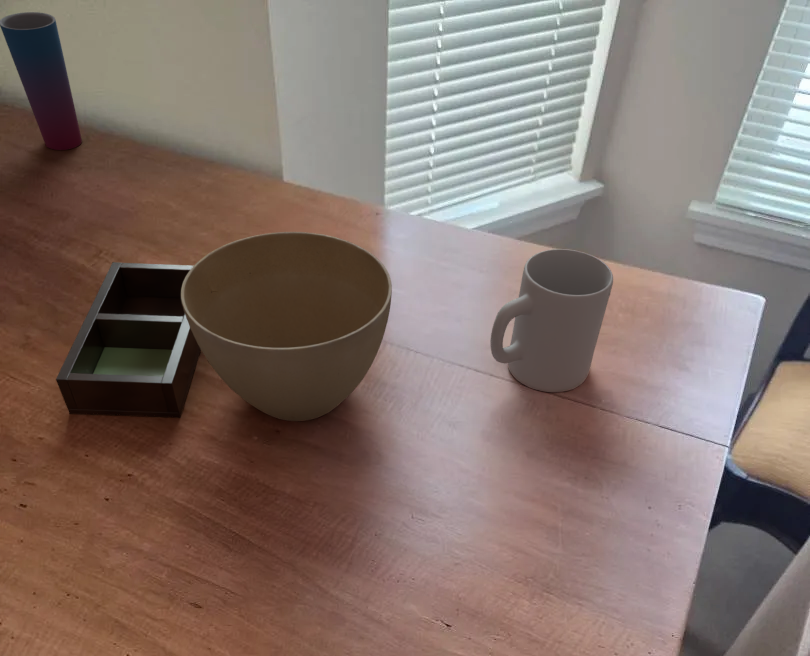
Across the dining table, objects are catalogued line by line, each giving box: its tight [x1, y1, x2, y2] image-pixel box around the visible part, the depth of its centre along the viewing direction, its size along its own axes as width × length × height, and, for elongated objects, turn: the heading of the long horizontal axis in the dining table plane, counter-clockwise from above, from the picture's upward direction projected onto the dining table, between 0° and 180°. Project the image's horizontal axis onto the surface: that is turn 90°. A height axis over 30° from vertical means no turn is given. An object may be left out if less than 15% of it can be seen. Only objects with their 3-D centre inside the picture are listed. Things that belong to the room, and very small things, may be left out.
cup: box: [0, 11, 83, 151], centre depth 102 cm, size 7×7×15 cm
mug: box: [490, 248, 614, 393], centre depth 74 cm, size 12×8×11 cm
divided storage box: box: [55, 261, 202, 419], centre depth 76 cm, size 10×20×4 cm, turn 179°
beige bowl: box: [181, 231, 393, 422], centre depth 70 cm, size 18×18×12 cm
